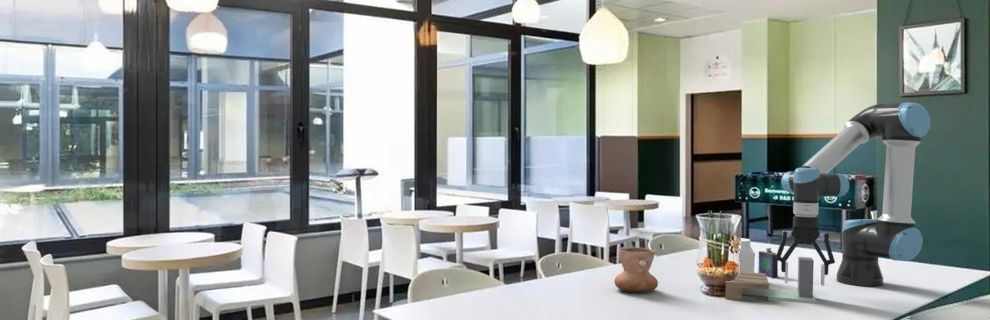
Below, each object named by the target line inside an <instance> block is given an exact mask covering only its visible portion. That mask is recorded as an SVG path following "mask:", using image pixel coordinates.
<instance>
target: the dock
mask: <svg viewBox="0 0 990 320" xmlns="http://www.w3.org/2000/svg"><path fill="white" fill-rule="evenodd" d="M742 288H756V289H770V285H769V280H768V276H767V275H766V274H765V273H758V272H754V273H749V272H740V274H739V276H738V278H737V279H735V280H731V281H725V295H724V296H725V297H724V298H725V299H727V300H740V301H742V300H752V301H760V302H761V301H763V302H768V301H769V300H768V296H756V295H743V294H742Z"/></svg>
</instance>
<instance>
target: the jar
mask: <svg viewBox="0 0 990 320" xmlns="http://www.w3.org/2000/svg"><path fill="white" fill-rule="evenodd" d="M739 238H740V239H741V250H740V253H739V262H740V272H749V273H755V266H756V265H755V264H756V263H755V261H756V260H755V259H756V258H755V257H756V252H755V251H754V250H753V248H752V247H751V239H750V238H749V239H748V238H743V237H739Z"/></svg>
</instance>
